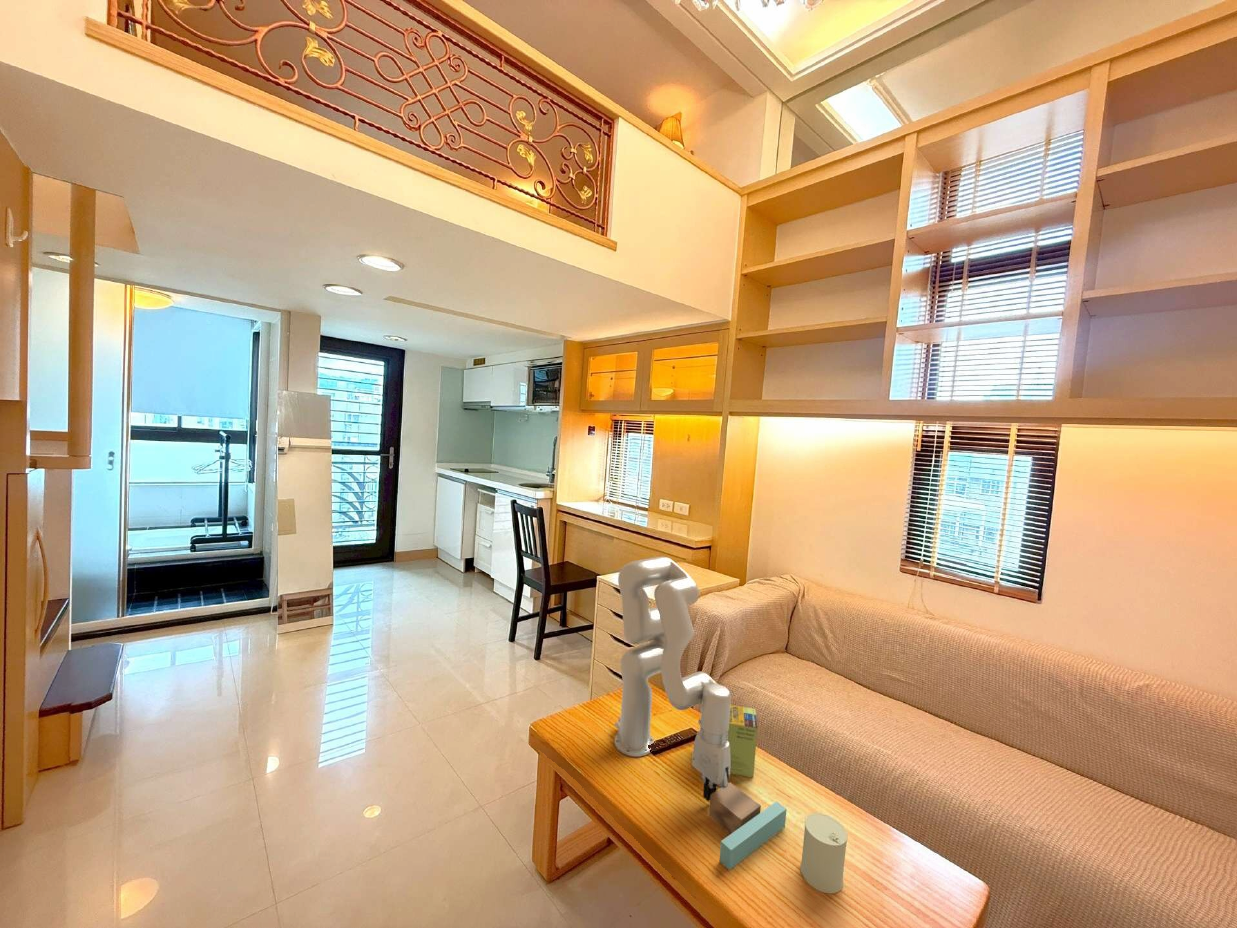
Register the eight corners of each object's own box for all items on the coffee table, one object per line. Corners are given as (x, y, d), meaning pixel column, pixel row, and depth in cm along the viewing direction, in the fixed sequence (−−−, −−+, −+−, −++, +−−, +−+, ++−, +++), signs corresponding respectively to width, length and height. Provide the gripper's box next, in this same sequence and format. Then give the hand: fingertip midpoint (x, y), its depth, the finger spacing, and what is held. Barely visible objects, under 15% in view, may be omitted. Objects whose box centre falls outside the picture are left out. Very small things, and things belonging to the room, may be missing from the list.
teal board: (719, 860, 116) (720, 840, 116) (775, 819, 130) (776, 801, 129) (729, 870, 114) (731, 850, 114) (784, 826, 127) (786, 808, 127)
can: (821, 899, 108) (826, 848, 107) (791, 864, 117) (796, 816, 116) (852, 885, 112) (857, 836, 111) (820, 852, 120) (825, 806, 119)
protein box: (754, 778, 145) (758, 728, 144) (701, 768, 148) (704, 718, 147) (751, 755, 155) (755, 708, 154) (702, 746, 158) (705, 700, 157)
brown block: (708, 815, 130) (710, 794, 129) (728, 802, 135) (729, 781, 134) (739, 842, 122) (741, 819, 122) (758, 826, 127) (760, 805, 127)
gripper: (684, 723, 136) (679, 785, 137) (726, 753, 124) (721, 821, 125) (702, 714, 140) (698, 775, 142) (745, 742, 128) (740, 809, 130)
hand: (709, 796), depth 133 cm, fingers closed
